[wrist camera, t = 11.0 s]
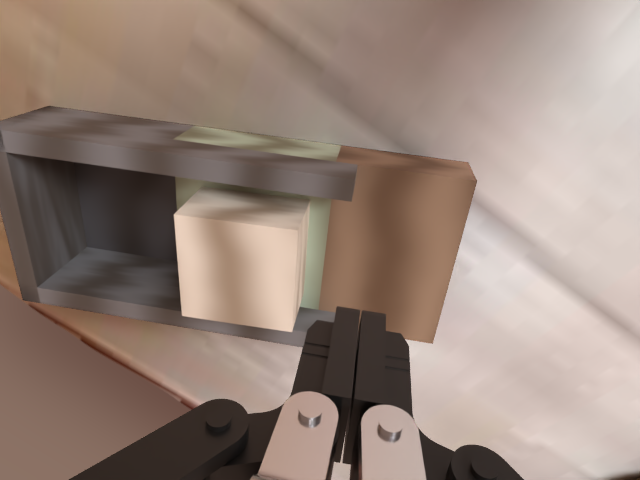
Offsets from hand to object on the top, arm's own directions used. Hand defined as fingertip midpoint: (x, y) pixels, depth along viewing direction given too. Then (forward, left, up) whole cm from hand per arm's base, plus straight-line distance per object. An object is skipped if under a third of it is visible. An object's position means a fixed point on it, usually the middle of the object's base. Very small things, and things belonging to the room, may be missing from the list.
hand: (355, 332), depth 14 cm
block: (+8, +8, -19) cm, 22 cm away
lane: (+10, +8, -23) cm, 26 cm away
